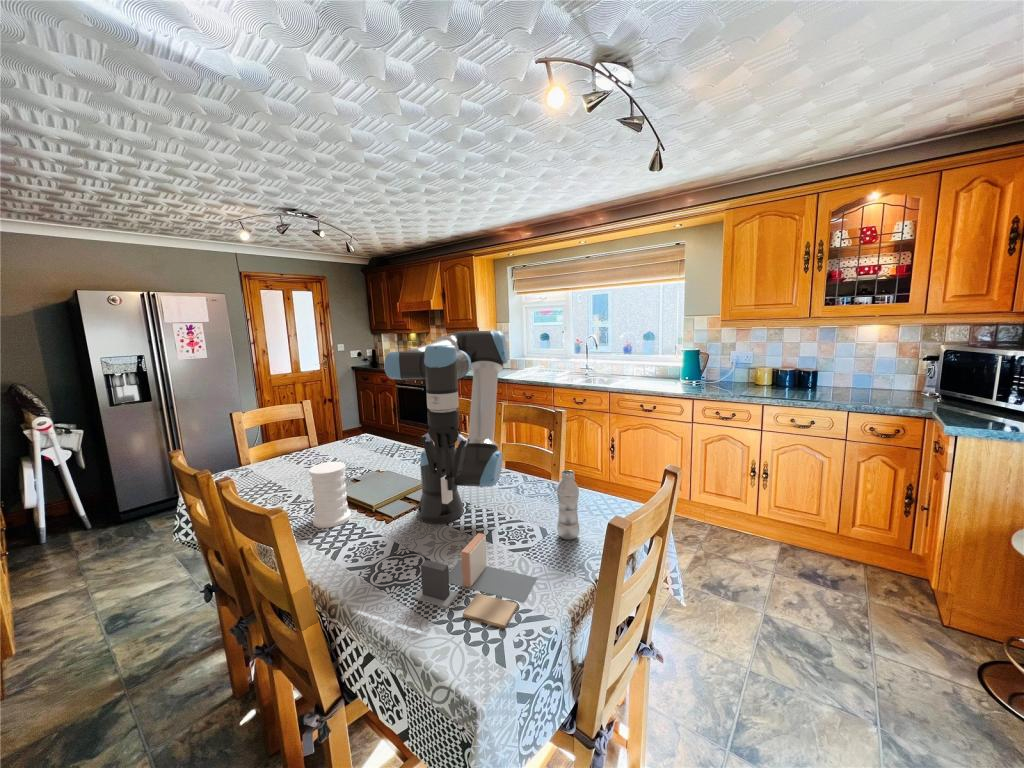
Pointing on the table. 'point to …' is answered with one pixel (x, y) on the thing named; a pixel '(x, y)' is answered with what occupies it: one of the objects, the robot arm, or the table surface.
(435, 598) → the grout float
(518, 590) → the mat
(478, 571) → the tile
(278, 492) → the table surface
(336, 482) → the decorative container
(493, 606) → the board
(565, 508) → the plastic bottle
